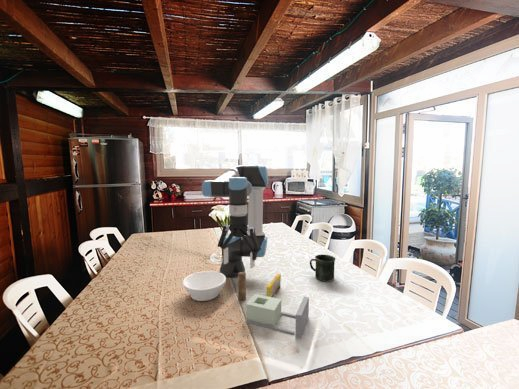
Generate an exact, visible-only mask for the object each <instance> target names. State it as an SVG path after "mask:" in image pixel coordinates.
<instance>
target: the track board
mask: <svg viewBox="0 0 519 389" xmlns="http://www.w3.org/2000/svg"><path fill="white" fill-rule="evenodd" d="M309 301H310V297H309V296H304V295H303V298H302V300H301V302H300V304H299V307H298V308H297V310H296V313H295V314H294V313H288V312H284V311H281V316H285V317H291V318H295V331H294V330H291V329H287V328H283V327H279V326H276V325H275V326H271V325H267V324H263V323H259V322H255V321H250V320H247V319H245V322H244V323H247V324H250V325H254V326H257V327H258V326H259V327H262V328H266V329H270V330H274V331H279V332H282V333H285V334H291V335H295V336H294V337H295V338H297V339H301V338H302V336H303V335H304V334H303V333H304V331H305V328H306V325H307V322H308V320H309V306H310V305H309V303H310V302H309Z"/></svg>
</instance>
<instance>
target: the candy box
mask: <svg viewBox="0 0 519 389" xmlns="http://www.w3.org/2000/svg"><path fill="white" fill-rule="evenodd" d="M281 276H282V274H280V273H277V274H276V275H275V276H274V277H273V279H272V280H271V281H270V282H269V283H268V285H266V290H265V296H268V297H273V298H274V296H275V295H277V294H278V293H279V291H280V289H281V282H282V281H281V280H282V279H281V278H282V277H281Z"/></svg>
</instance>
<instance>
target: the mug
mask: <svg viewBox="0 0 519 389" xmlns="http://www.w3.org/2000/svg"><path fill="white" fill-rule="evenodd" d="M335 261H336V257H335V256H332V255H329V254H317V255H315V257H314V258H312V259H310V260H309V267H310V269H311V270H312V271H314V272H315V274H314V275H315V278H316V279H317V280H319V281H321V282H332V281H333V280H335V263H336V262H335ZM312 262H315V268H314V266H313V263H312Z"/></svg>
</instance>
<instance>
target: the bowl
mask: <svg viewBox="0 0 519 389" xmlns="http://www.w3.org/2000/svg"><path fill="white" fill-rule="evenodd" d="M226 281H227V277H225V275H224V274H222V273H220V271H215V270H214V271H213V270H203V271H197V272H194V273H191V274H189V275H187V276H186V277H184V279H183V280H182V285H183V287H184V289H185V291H186V292H188V293H189V295H190V297H191V299H193V300H194V301H198V302H199V301H200V302H206V301H211V300H213V299H216V298H217V297H218V296H219V294H220V291H221V290H222V289H223V288H224V285H225V284H226Z"/></svg>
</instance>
